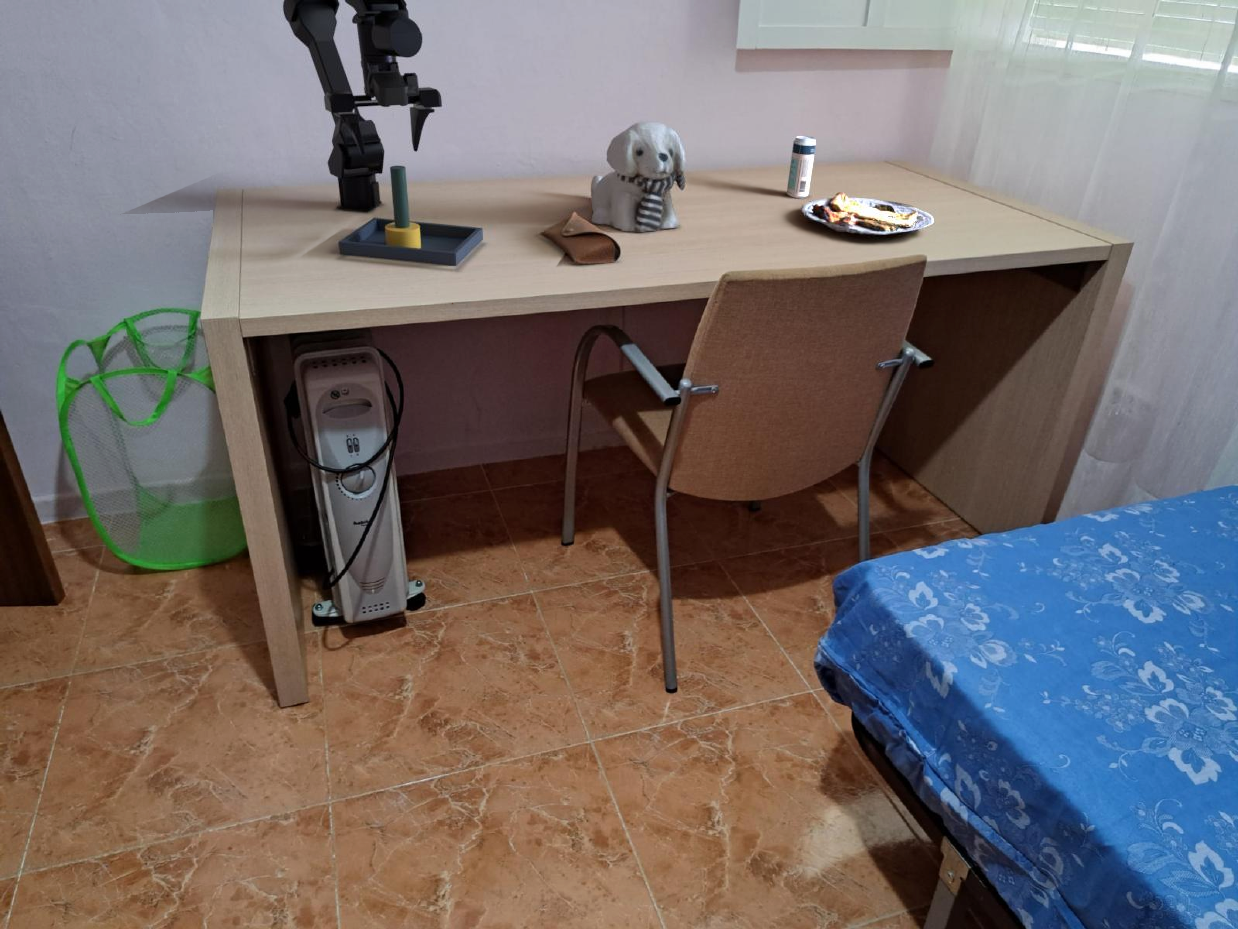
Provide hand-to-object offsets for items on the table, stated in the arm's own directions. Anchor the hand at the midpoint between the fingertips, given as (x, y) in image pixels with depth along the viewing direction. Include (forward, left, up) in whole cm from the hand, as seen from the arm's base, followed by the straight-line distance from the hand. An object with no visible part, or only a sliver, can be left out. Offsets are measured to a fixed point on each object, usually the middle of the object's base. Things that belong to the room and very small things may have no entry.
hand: (389, 153), depth 157 cm
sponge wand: (+7, -14, -12) cm, 20 cm away
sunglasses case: (+34, -3, -13) cm, 37 cm away
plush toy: (+40, +21, -13) cm, 47 cm away
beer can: (+72, +47, -13) cm, 87 cm away
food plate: (+85, +29, -13) cm, 91 cm away
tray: (+8, -13, -13) cm, 20 cm away
